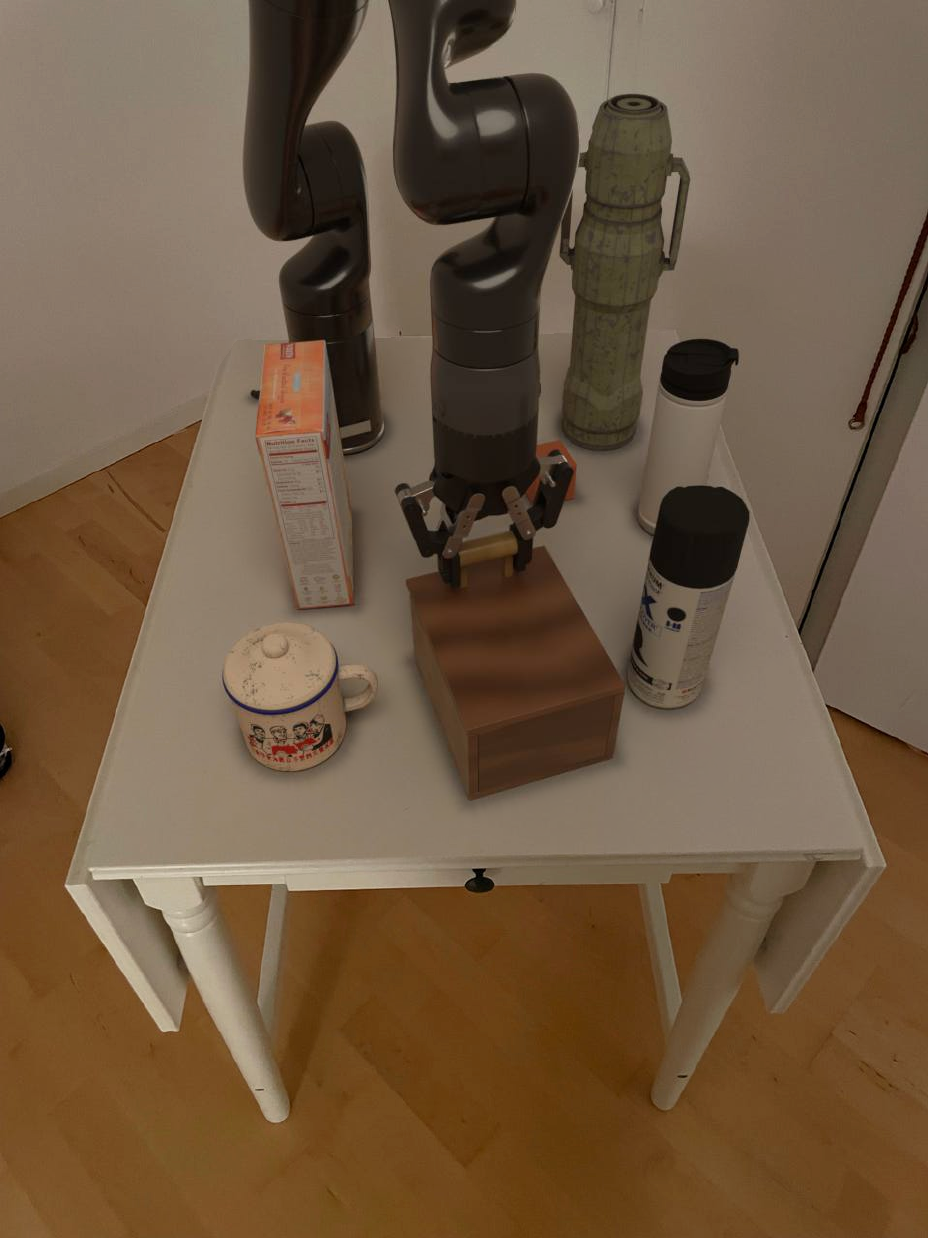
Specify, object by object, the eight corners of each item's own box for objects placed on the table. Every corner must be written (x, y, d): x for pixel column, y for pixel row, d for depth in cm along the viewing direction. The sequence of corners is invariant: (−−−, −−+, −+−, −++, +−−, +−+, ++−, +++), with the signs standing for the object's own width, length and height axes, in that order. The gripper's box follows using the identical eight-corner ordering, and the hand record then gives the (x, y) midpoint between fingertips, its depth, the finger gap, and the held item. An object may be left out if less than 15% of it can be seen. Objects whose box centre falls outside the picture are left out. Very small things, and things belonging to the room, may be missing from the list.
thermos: (547, 405, 111) (566, 85, 85) (646, 407, 110) (695, 86, 84) (547, 449, 105) (567, 119, 79) (651, 452, 104) (705, 120, 78)
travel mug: (699, 544, 94) (740, 372, 79) (634, 536, 95) (662, 365, 80) (701, 505, 98) (740, 335, 83) (639, 497, 99) (666, 328, 84)
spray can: (623, 652, 84) (653, 479, 69) (697, 653, 84) (743, 480, 69) (629, 710, 79) (663, 539, 65) (708, 711, 79) (760, 539, 64)
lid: (406, 585, 78) (402, 539, 74) (544, 551, 80) (547, 505, 76) (467, 736, 67) (466, 691, 63) (624, 692, 70) (633, 646, 66)
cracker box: (297, 517, 97) (261, 340, 82) (353, 513, 98) (329, 336, 82) (292, 612, 88) (251, 432, 73) (355, 607, 88) (327, 427, 73)
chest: (415, 661, 84) (409, 593, 77) (543, 627, 86) (548, 559, 80) (469, 801, 73) (467, 737, 67) (612, 758, 76) (624, 692, 70)
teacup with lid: (242, 783, 75) (211, 695, 66) (243, 696, 81) (215, 605, 73) (388, 763, 76) (376, 674, 68) (378, 679, 82) (366, 587, 74)
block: (534, 507, 98) (536, 473, 95) (519, 482, 101) (520, 448, 98) (573, 498, 99) (577, 464, 95) (557, 473, 102) (560, 439, 98)
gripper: (560, 353, 68) (547, 525, 80) (372, 389, 65) (390, 563, 77) (601, 408, 63) (582, 583, 75) (400, 451, 60) (414, 625, 72)
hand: (484, 572), depth 76 cm, fingers closed on lid, 5 cm apart
